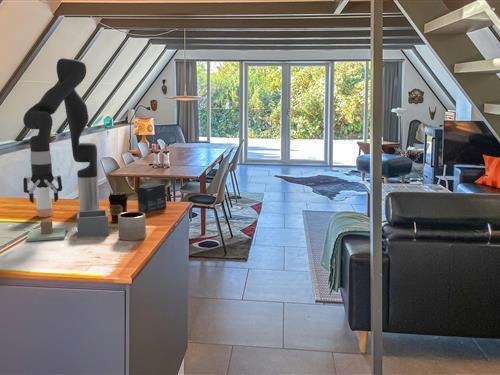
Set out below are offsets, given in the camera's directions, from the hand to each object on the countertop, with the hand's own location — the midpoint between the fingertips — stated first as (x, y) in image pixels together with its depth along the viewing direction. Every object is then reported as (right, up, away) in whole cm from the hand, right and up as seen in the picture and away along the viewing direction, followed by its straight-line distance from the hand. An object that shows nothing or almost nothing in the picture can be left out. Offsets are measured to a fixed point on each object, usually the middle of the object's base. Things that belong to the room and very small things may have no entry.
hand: (44, 202), depth 204 cm
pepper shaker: (-14, -7, +35) cm, 39 cm away
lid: (0, -14, +3) cm, 14 cm away
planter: (+35, -15, +1) cm, 38 cm away
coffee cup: (+23, -10, +26) cm, 36 cm away
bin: (+17, -13, +8) cm, 23 cm away
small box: (+34, -5, +49) cm, 60 cm away
